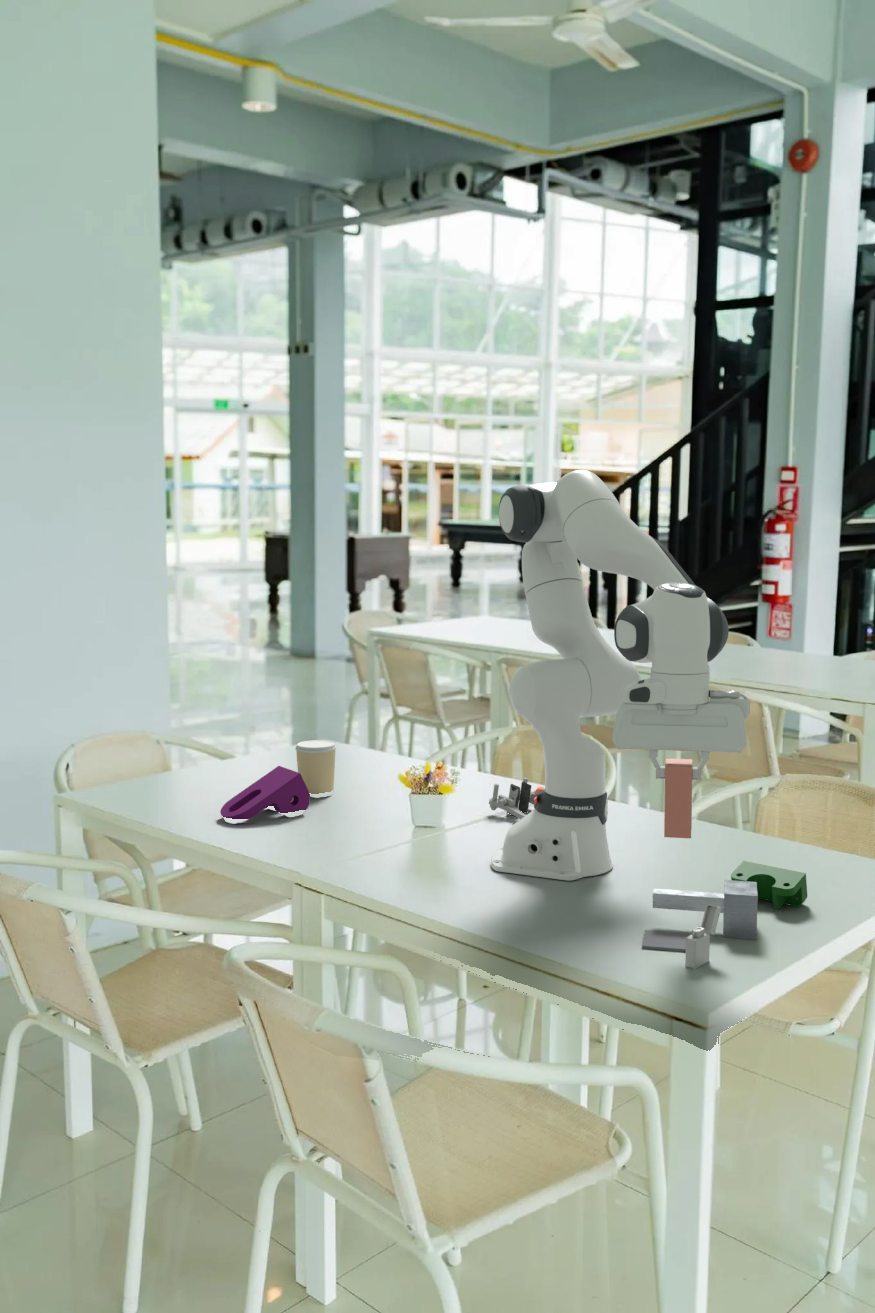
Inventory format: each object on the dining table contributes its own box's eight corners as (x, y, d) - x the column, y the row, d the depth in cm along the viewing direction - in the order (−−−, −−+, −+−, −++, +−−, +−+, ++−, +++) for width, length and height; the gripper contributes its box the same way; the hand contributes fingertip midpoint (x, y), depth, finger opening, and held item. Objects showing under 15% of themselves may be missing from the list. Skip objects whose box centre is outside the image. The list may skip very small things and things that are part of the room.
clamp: (743, 926, 202) (719, 878, 202) (758, 908, 207) (735, 862, 206) (803, 915, 194) (779, 866, 194) (818, 898, 198) (794, 849, 198)
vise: (651, 931, 187) (652, 888, 187) (653, 916, 194) (654, 875, 193) (756, 939, 184) (757, 896, 183) (755, 924, 190) (756, 882, 190)
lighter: (695, 969, 172) (696, 916, 171) (684, 966, 174) (686, 913, 172) (719, 955, 178) (721, 903, 176) (709, 952, 179) (711, 901, 178)
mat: (642, 948, 180) (642, 945, 180) (644, 932, 187) (644, 929, 187) (689, 952, 179) (689, 949, 179) (690, 935, 186) (690, 933, 185)
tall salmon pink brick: (664, 837, 181) (665, 766, 180) (665, 827, 188) (666, 758, 187) (691, 838, 181) (691, 767, 179) (691, 828, 187) (692, 759, 186)
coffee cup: (320, 787, 283) (319, 738, 282) (344, 794, 277) (344, 743, 275) (288, 794, 277) (287, 743, 276) (312, 801, 270) (311, 749, 269)
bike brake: (481, 811, 258) (549, 844, 244) (485, 782, 256) (554, 813, 242) (523, 802, 267) (591, 832, 253) (527, 773, 266) (596, 802, 252)
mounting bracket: (249, 852, 251) (315, 805, 260) (233, 820, 248) (300, 773, 257) (229, 842, 259) (294, 796, 267) (213, 811, 256) (278, 765, 264)
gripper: (749, 688, 183) (747, 776, 184) (614, 685, 187) (614, 772, 189) (750, 694, 176) (748, 785, 178) (611, 691, 181) (611, 780, 182)
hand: (678, 778), depth 183 cm, fingers closed on tall salmon pink brick, 4 cm apart
